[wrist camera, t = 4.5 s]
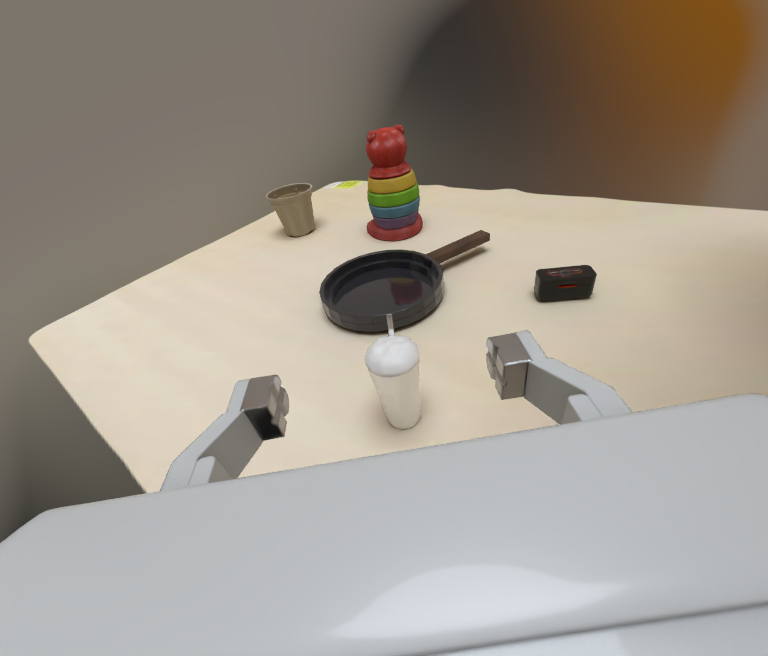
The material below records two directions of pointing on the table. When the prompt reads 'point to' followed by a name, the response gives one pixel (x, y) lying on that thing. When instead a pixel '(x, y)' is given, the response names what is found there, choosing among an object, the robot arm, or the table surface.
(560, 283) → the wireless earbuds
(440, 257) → the pan handle
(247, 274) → the table surface
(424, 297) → the pan
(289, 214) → the flower pot
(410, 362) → the milkshake
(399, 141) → the stacking bear
